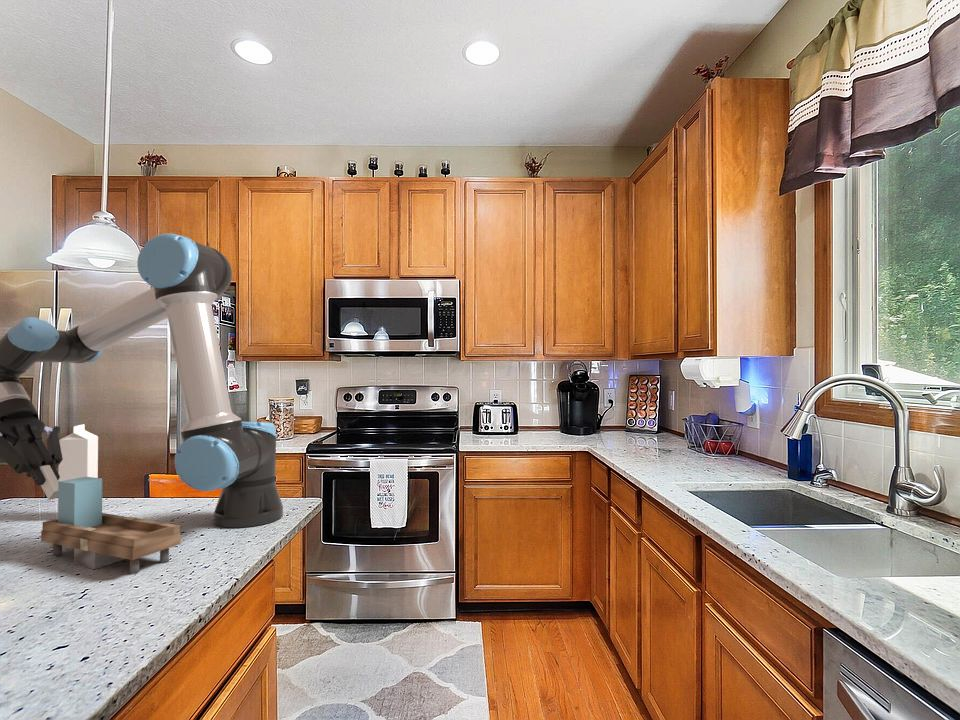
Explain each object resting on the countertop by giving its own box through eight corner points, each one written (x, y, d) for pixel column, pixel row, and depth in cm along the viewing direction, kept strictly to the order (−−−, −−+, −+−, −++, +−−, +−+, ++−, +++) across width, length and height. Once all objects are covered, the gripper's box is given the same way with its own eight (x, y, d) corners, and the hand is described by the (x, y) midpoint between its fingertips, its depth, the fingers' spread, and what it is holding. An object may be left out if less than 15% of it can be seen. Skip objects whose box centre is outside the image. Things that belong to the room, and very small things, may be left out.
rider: (57, 528, 101) (58, 481, 101) (85, 521, 106) (86, 476, 106) (74, 531, 99) (74, 483, 99) (101, 524, 104) (102, 478, 104)
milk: (57, 520, 124) (57, 427, 124) (69, 513, 130) (69, 424, 130) (87, 518, 126) (87, 426, 126) (98, 511, 131) (98, 423, 132)
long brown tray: (40, 557, 100) (40, 522, 100) (92, 542, 108) (92, 510, 108) (131, 578, 90) (132, 539, 90) (180, 559, 98) (181, 524, 98)
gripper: (37, 417, 119) (82, 499, 112) (-38, 423, 107) (8, 514, 100) (52, 394, 117) (98, 476, 110) (-23, 397, 105) (25, 489, 98)
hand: (55, 494), depth 105 cm, fingers closed
